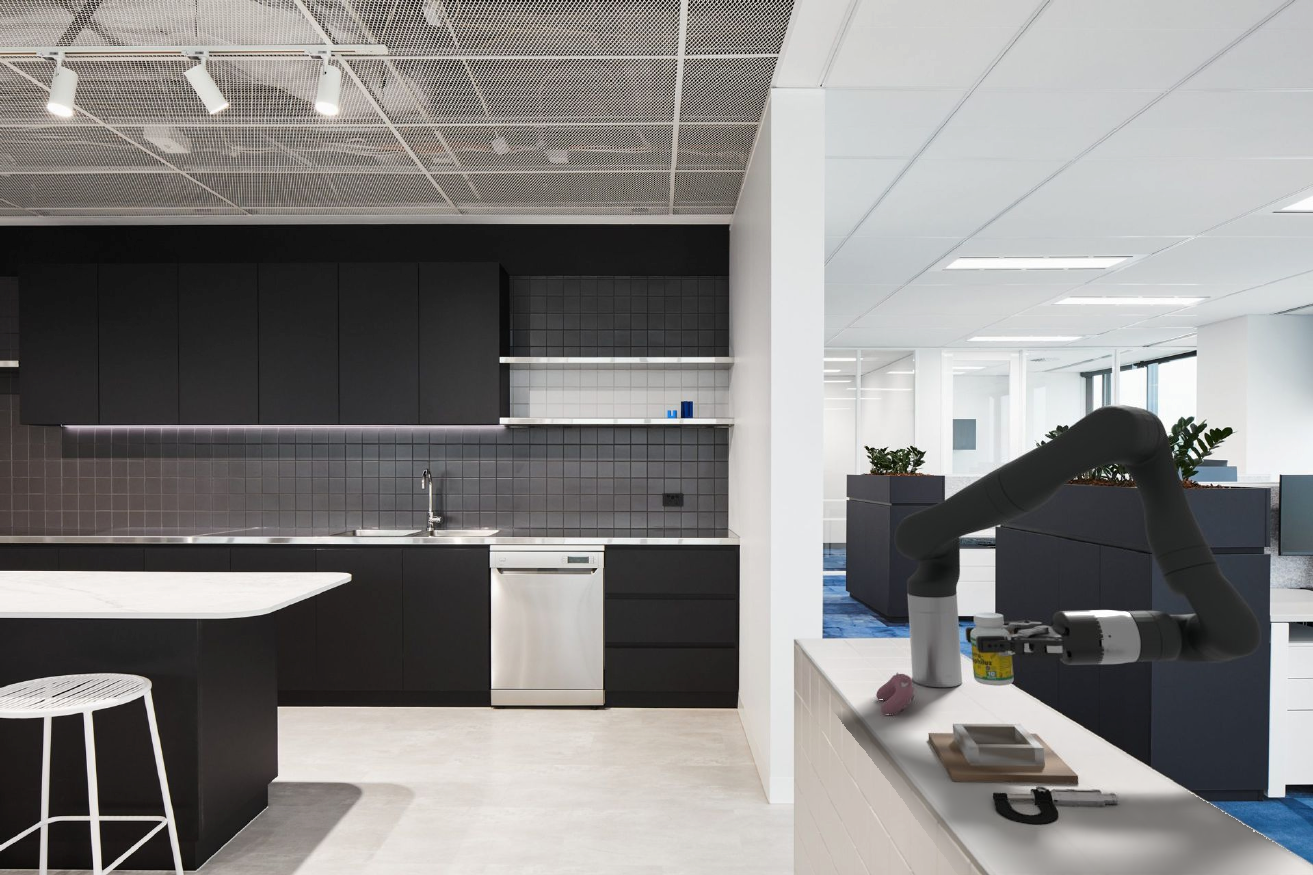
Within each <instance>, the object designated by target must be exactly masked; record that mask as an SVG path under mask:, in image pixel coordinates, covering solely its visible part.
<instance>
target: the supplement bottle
mask: <svg viewBox="0 0 1313 875" xmlns="http://www.w3.org/2000/svg"><path fill="white" fill-rule="evenodd" d="M1004 622H1005V620H1004V614H1001V613H997V612H977V613H974V614H973V624H974V625H975V627H976V628H974V629H973V630H972V631H971V634H970V638H971V643H970V645H971V660H972V670H973V671H972V673H973V679H974V681H976V682H977V683H979V684H982V685H986V686H997V687H998V686H999V687H1000V686H1008V685H1010V684H1012V683H1013V682H1014V679H1015V677H1014V676H1015V675H1014V667H1013V665H1014V663H1013V655H1010V654H1007V651H1005V652H997V653H980V652H979V651H978V650H977V647H976V638H977V637H978V636H1004V639H1006V638H1005V636H1006V635H1010V634H1009V632H1008V631H1007V630H1006V629H1004V628H1002V626H1003V625H1004Z"/></svg>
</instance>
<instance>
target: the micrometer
mask: <svg viewBox="0 0 1313 875" xmlns="http://www.w3.org/2000/svg"><path fill="white" fill-rule="evenodd" d="M992 799H993V803H994V808H995V811H996V813H997V814H998V815H999V816H1001V817H1003V818H1004V819H1006V820H1009V821H1011V822H1013V823H1019V824H1024V825H1029V826H1031V825H1033V826H1044V825H1050V824H1053V823H1055V822H1056V821H1058V819H1059V810H1058V808H1057V807H1076V808H1077V807H1088V808H1089V807H1093V808H1095V807H1096V808H1105V805H1113V806H1117V805H1118V804H1119V800H1118V796H1117V794H1116V793H1115V792H1114V793H1113V792H1110V793H1103V792H1102V791H1101V789H1074V788H1066V789H1059V788H1056V789H1055V788H1053V789H1051V790H1050V789H1049V788H1047V787H1046V786H1044V785H1036V786H1035V788H1031V789H1030V792H1029V793H1007V792H993V793H992ZM1010 802H1032V803H1033V804H1034V806H1037V808H1038V810H1039V811H1040V812H1038V813H1037V814H1025V813H1022V812H1019V811H1018V810H1016V809H1014V808H1013V807H1012V806H1011V803H1010Z"/></svg>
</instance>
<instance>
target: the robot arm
mask: <svg viewBox="0 0 1313 875" xmlns="http://www.w3.org/2000/svg"><path fill="white" fill-rule="evenodd" d="M1166 430H1167V429H1165V425H1164V424H1163V421H1162V420H1161V419H1160V418H1159V417H1158V415H1156V414H1155V413H1153V412H1152V411H1150V410H1148V409H1145V408H1141V407H1135V406H1130V405H1126V404H1119V403H1118V404H1117V403H1116V404H1107V405H1104V406H1100V407H1099V408H1096V409H1094V410H1093V411H1091V412H1089V413H1088V414H1087V415H1085V416H1083V417H1082V418H1080V419H1079V420H1078V421H1077V422H1075V423H1074V424H1072V425H1071V426H1070V427H1068V428H1067V429H1065V430H1064V431H1063V432H1061V433H1060V434H1058V435H1057V436H1055V437H1054V438H1052V439H1050V440H1049V441H1047V442H1046V443H1043V444H1041V445H1040V446H1037V447H1036V448H1033V449H1031V450H1030V451H1027V452H1026V453H1024V454H1022V455H1021V456H1019V457H1017V458H1015V459H1014V460H1011V461H1009V462H1007V463H1005V464H1003V465H1001V466H1000V467H998V468H996V469H994V470H992V471H991V472H988V473H987V474H986V475H983V477H980V478H979V479H977V480H975V481H974V482H972V483H971V484H969V485H967V486H965V487H964V488H962V489H960V490H959V491H957V492H956V493H954V494H952V495H951V496H950V497H948V498H947V499H945V500H942V501H941V502H939V503H937V504H934V505H932V506H929V507H927V508H925V509H923V510H920V511H916V512H914V513H912V514H908V515H907V516H905V517H904V518H902V520H900V522H898V525H897V527H896V528H895V532H894V538H893V539H894V545H895V547H896V550H897V551H898V552H899V553H900V554H901V555H902V556H904V557H905V558H907V559H910V560H914V561H918V562H919V564H918V567H917V568H916V571H915V572H914V573H913V574H912V575H911V576H910V577H909V578H907V581H906V582H907V583H906V590H907V605H908V606H907V608H908V621H909V622H908V623H909V638H910V640H909V641H910V655H911V658H910V659H911V672H912V673H911V675H912V678H911V679H912V681H913V682H914V683H916V684H918V685H920V686H925V687H933V688H950V687H957V686H960V685H961V684H962V683H963V674H962V658H961V657H962V656H961V642H960V641H961V639H960V626H959V624H960V623H959V609H958V595H957V593H958V592H957V586H958V583H959V580H960V576H961V568H960V567H961V565H960V564H961V562H960V561H961V554H960V548H961V547H960V538H961V537H964V536H967V535H969V534H972V533H977V532H981V531H984V530H988V529H991V528H992V529H993V528H994V527H998V526H1001V525H1004V524H1007V523H1009V522H1012V521H1015V520H1018V519H1020V518H1021V517H1023V516H1025V515H1027V514H1029V513H1031V512H1033V511H1035V510H1038V509H1039V508H1041V507H1042V506H1043V505H1046V504H1047V503H1048V502H1049V501H1050V500H1051V499H1052V498H1053V497H1054V496H1055V495H1056V494H1057V493H1058V491H1059V490H1060V489H1061V488H1062V487H1063V486H1064V485H1065V484H1067V483H1068V482H1070V481H1071V480H1073V479H1075V478H1077V477H1079V476H1081V475H1083V474H1086V473H1088V472H1090V471H1092V470H1096V469H1098V468H1101V467H1103V466H1107V465H1111V464H1116V465H1117V464H1118V465H1122V466H1123V467H1124V469H1125V470H1126V472H1127V473H1128V474H1129V476H1130V478H1131V480H1133V483H1134V485H1135V487H1136V488H1137V492H1138V494H1139V497H1140V501H1141V504H1142V509H1143V517H1144V528H1145V534H1146V539H1147V543H1148V545H1149V549H1150V551H1151V554H1152V556H1153V559H1154V560H1155V563H1156V565H1157V566H1158V569H1159V571H1160V573H1161V576H1162V578H1163V581H1164V583H1165V585H1166V586H1167V587H1168V589H1169V590H1170V592H1171V594H1174V595H1176V596H1178V597H1184V598H1185V599H1186V600H1187V602H1188V603H1189V605H1190V606H1191V608H1192V609H1193V611H1194V613H1190V614H1168V613H1167V612H1164V611H1160V610H1159V611H1158V610H1114V609H1113V610H1111V609H1097V610H1096V609H1095V610H1094V609H1093V610H1092V609H1089V610H1088V609H1087V610H1059V611H1056V612H1055V613H1054V615H1053V616H1052V621H1051V623H1050V625H1045V624H1044V625H1043V622H1040V621H1031V620H1028V619H1025V620H1011V621H1010V620H1009V621H1008V620H1007V621H1004V625H1003V626H1002V628H1004V629H1006V630H1007V631H1008V632H1009V634H1010V635H1006V636H1005V638H1006V639H1004V636H978V637H977V638H976V647H977V650H978V651H979V652H980V653H997V652H1005V651H1007V654H1010V655H1012V656H1013V655H1014V656H1015V657H1016V658H1018V659H1021V658H1026V659H1029V658H1030V659H1032V658H1034V659H1035V658H1036V659H1057V660H1060V662H1062V663H1063V664H1064V665H1068V666H1070V665H1071V666H1074V665H1075V666H1078V665H1079V666H1080V665H1081V666H1082V665H1084V666H1085V665H1119V664H1125V663H1126V664H1127V663H1135V662H1136V663H1137V662H1143V663H1144V662H1146V663H1147V662H1163V661H1164V662H1166V661H1173V662H1183V663H1184V662H1185V663H1195V664H1196V663H1197V664H1215V663H1225V662H1228V661H1232V660H1238V659H1240V658H1244V657H1247V656H1250V655H1252V654H1253V653H1255V652H1256V651H1257V650H1258V649H1259V648H1260V646H1261V642H1262V630H1261V626H1260V623H1259V620H1258V618H1257V617H1256V615H1255V613H1254V612H1253V610H1252V608H1251V607H1250V605H1249V604H1248V603H1247V601H1246V600H1245V599H1244V598H1243V597H1242V595H1241V594H1240V593H1239V592H1238V590H1237V589H1236V588H1235V587H1234V585H1233V584H1232V583H1231V582H1230V581H1229V580H1228V579H1227V578H1226V577H1225V576H1224V574H1223V573H1222V570H1221V569H1220V566H1219V564H1218V562H1217V559H1216V558H1215V556H1214V554H1213V552H1212V550H1211V548H1210V546H1209V543H1208V541H1207V540H1206V538H1205V536H1204V534H1203V532H1202V530H1201V527H1200V525H1199V524H1198V521H1197V519H1196V517H1195V514H1194V512H1193V510H1192V508H1191V504H1190V501H1189V500H1188V497H1187V494H1186V492H1185V489H1184V486H1183V484H1182V483H1183V482H1182V481H1181V476H1180V474H1179V471H1178V469H1177V464H1176V462H1175V457H1174V455H1173V451H1172V448H1171V443H1170V440H1169V437H1168V434H1167V431H1166ZM976 627H977V626H969V627H968V626H967V627H966V628H965V640H966V642H968V643H970V644H971V638H970V634H971V631H972V630H973V629H974V628H976Z"/></svg>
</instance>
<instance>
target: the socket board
mask: <svg viewBox="0 0 1313 875" xmlns="http://www.w3.org/2000/svg"><path fill="white" fill-rule="evenodd" d="M952 731H953V732H945V733H944V732H928V734H927V735H928V741H929V740H930V741H929V742H930V744H931V746H932V747H934V748H933V749H934V751H935V752H936V754H937V756H938V758H939V760H940V761H941V763H942V764H943V766H944V767H945V768H944V769H946V773H948V775H949V777H950V779H951V780H952V782H953V783H954V782H957V783H958V782H959V783H961V782H962V783H963V782H965V783H1016V784H1017V783H1024V784H1025V783H1029V784H1030V783H1032V784H1037V783H1038V784H1079V775H1078V774H1077V773H1076V772H1075V771H1074V770H1073V769H1072V768H1071V767H1070V766H1069V765H1068V764H1067V763H1066V762H1065V761H1064V760H1063V758H1061V757H1060V756H1059V755H1058V754H1057V753H1056V752H1055V751H1054V750H1053V749H1052V748H1051V747H1050V746H1049V744H1047V743H1046V741H1044V739H1042V738H1041V736H1040V735H1038V734H1037V733H1030V732H1029V731H1028V730H1027V729H1026V728H1025V727H1024V726H1023V725H1022V724H1021V723H952Z"/></svg>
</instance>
